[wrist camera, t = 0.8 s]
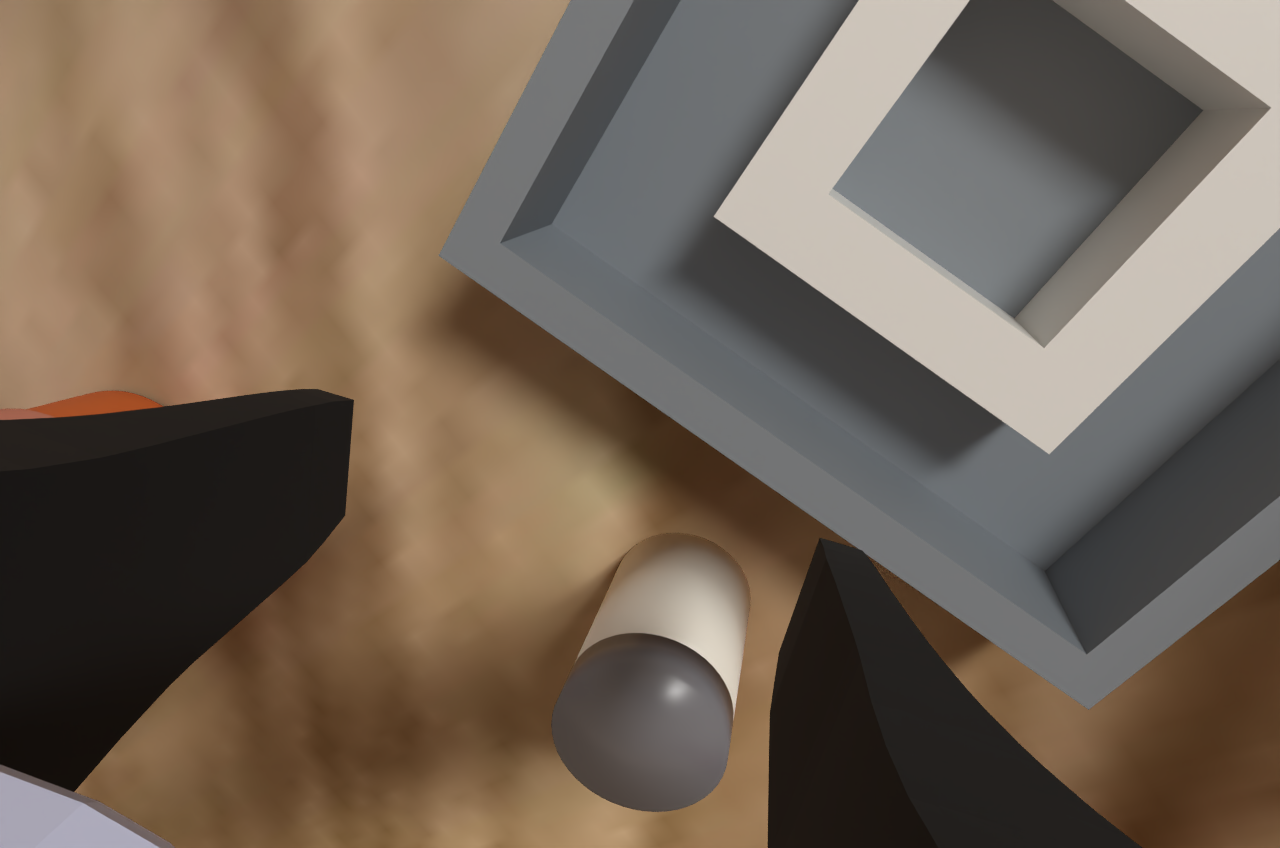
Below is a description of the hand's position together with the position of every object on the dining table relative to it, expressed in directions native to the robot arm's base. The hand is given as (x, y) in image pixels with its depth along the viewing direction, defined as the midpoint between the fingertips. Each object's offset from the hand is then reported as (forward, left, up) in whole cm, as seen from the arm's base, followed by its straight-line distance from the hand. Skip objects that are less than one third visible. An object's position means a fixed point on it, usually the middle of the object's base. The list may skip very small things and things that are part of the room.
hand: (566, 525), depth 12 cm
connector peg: (-4, +6, -10) cm, 12 cm away
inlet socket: (-3, -8, -10) cm, 13 cm away
